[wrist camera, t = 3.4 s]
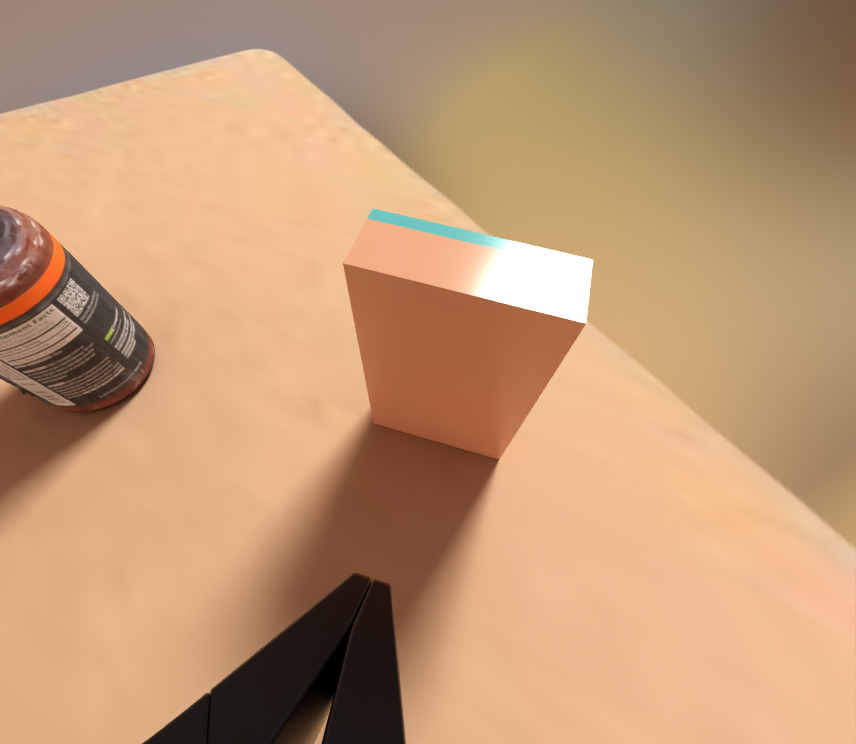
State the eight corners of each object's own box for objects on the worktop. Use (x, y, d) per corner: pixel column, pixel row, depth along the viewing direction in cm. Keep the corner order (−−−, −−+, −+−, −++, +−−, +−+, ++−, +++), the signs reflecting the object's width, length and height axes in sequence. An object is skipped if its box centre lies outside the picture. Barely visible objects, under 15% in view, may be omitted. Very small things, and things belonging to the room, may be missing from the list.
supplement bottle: (40, 349, 23) (-225, 166, 14) (149, 312, 25) (-18, 125, 15) (49, 435, 21) (-270, 287, 11) (169, 388, 22) (-16, 223, 13)
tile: (498, 459, 21) (586, 323, 11) (374, 423, 22) (342, 263, 12) (507, 417, 22) (592, 259, 12) (388, 384, 23) (373, 208, 13)
